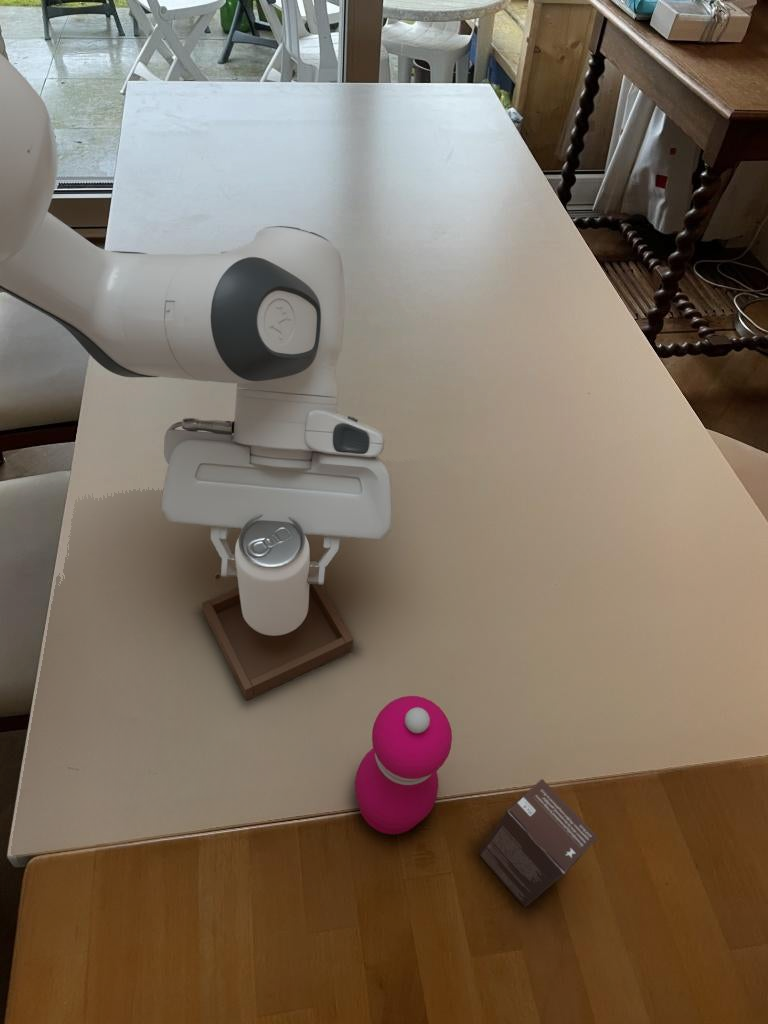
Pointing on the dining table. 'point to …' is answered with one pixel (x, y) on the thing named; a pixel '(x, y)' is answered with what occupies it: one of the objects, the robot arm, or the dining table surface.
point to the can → (273, 575)
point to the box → (536, 843)
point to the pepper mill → (403, 764)
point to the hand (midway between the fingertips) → (273, 579)
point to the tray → (276, 642)
